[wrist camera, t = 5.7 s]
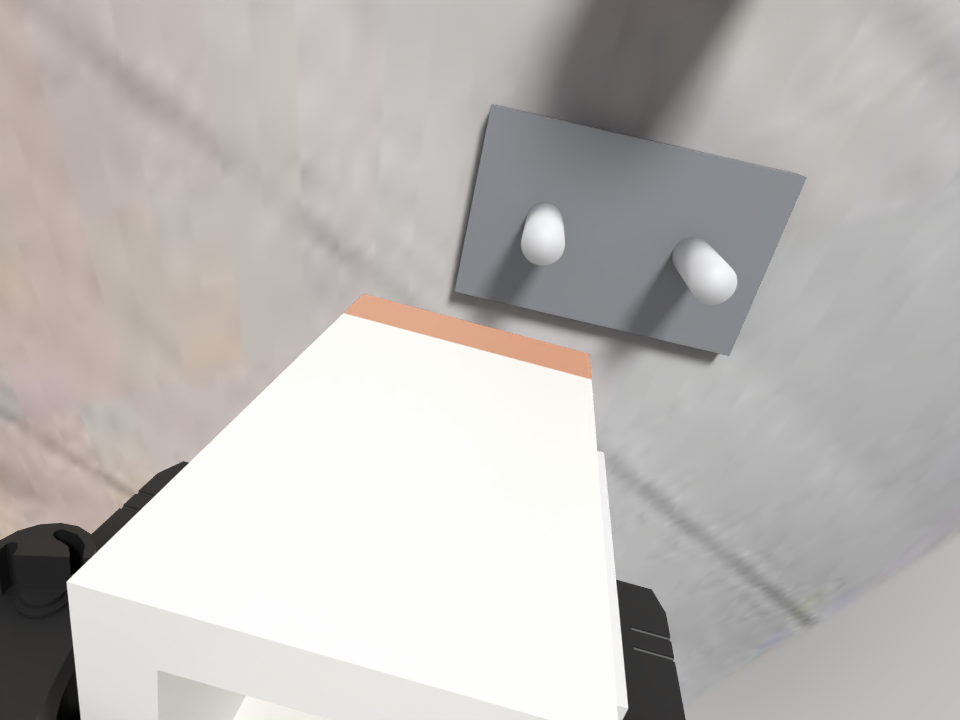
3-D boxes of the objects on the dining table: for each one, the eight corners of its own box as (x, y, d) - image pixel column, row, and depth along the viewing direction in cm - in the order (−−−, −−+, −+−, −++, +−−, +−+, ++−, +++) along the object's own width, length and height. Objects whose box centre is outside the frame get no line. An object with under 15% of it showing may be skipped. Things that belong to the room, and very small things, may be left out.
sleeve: (336, 478, 18) (96, 871, 9) (363, 293, 15) (65, 581, 6) (529, 531, 18) (486, 988, 9) (589, 354, 15) (619, 739, 6)
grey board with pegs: (457, 285, 35) (439, 323, 29) (493, 104, 31) (479, 108, 25) (723, 347, 35) (756, 397, 29) (797, 174, 30) (852, 194, 25)
